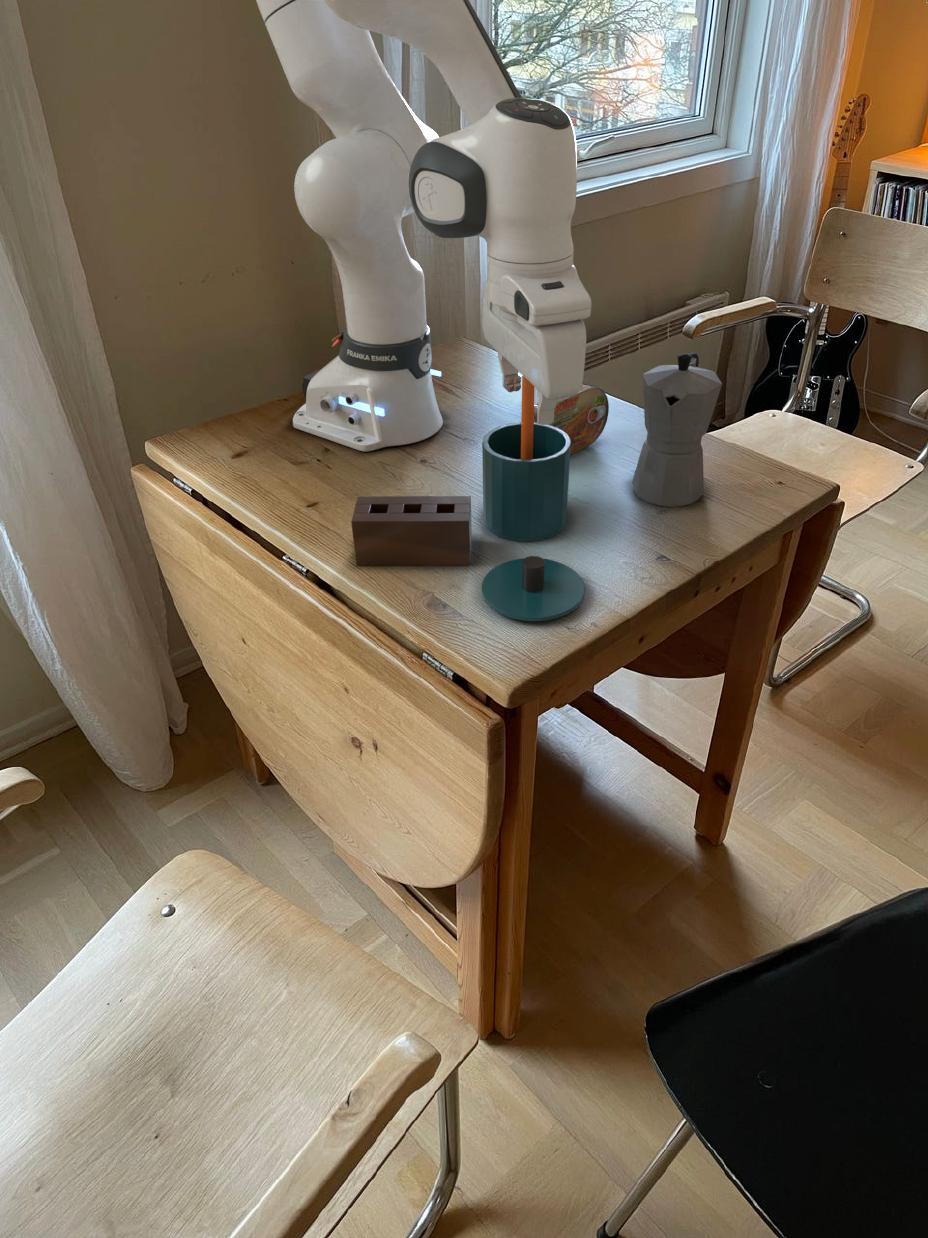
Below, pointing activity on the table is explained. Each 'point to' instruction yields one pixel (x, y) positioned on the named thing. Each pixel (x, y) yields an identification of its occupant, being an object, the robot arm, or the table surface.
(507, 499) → the can
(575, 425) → the tin
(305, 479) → the table surface
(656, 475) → the coffeepot
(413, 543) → the straw rack
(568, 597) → the can lid
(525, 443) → the straw
